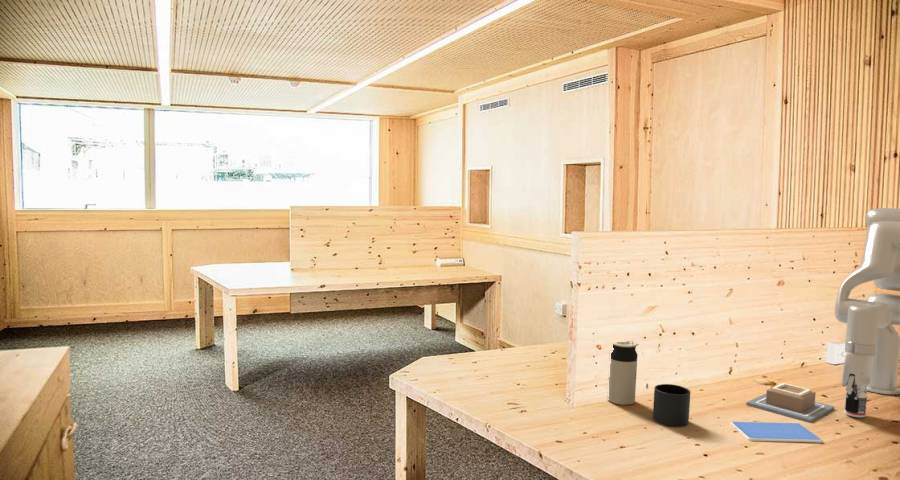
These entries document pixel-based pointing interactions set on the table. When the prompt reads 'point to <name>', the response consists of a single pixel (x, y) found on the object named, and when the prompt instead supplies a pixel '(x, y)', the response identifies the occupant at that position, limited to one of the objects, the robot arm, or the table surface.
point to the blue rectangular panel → (775, 432)
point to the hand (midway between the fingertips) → (855, 408)
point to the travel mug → (623, 373)
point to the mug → (671, 405)
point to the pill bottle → (862, 404)
